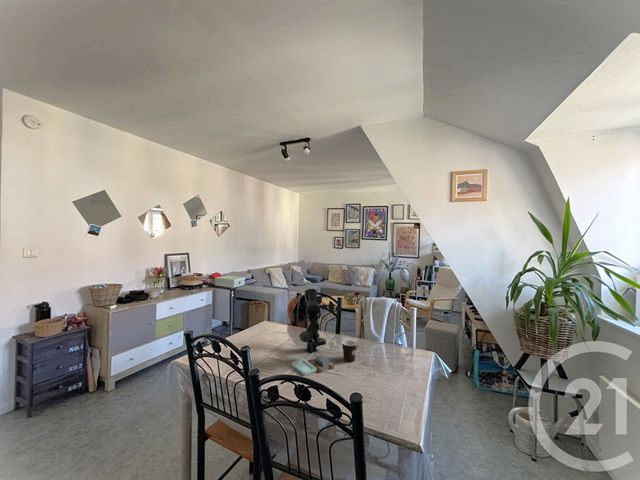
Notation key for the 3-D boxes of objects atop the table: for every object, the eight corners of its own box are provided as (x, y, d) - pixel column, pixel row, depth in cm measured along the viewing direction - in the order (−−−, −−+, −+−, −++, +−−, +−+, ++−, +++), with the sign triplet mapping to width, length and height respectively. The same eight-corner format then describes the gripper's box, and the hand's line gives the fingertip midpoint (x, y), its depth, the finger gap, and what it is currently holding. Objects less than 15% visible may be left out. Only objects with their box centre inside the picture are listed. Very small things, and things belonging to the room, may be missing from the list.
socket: (307, 363, 159) (307, 360, 159) (321, 359, 164) (321, 356, 164) (320, 372, 149) (320, 369, 149) (334, 368, 154) (334, 364, 154)
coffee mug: (345, 363, 159) (345, 346, 159) (340, 357, 168) (340, 340, 168) (363, 361, 163) (363, 344, 162) (357, 355, 171) (358, 339, 171)
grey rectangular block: (315, 365, 158) (315, 356, 158) (321, 363, 160) (321, 354, 160) (322, 371, 151) (323, 361, 151) (329, 369, 153) (329, 360, 153)
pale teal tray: (291, 365, 157) (291, 362, 157) (303, 362, 161) (303, 358, 161) (304, 375, 145) (304, 372, 145) (317, 371, 150) (317, 368, 150)
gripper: (293, 324, 166) (293, 350, 167) (310, 333, 151) (309, 362, 151) (309, 321, 173) (308, 346, 173) (326, 329, 157) (326, 357, 157)
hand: (312, 352), depth 163 cm, fingers closed
